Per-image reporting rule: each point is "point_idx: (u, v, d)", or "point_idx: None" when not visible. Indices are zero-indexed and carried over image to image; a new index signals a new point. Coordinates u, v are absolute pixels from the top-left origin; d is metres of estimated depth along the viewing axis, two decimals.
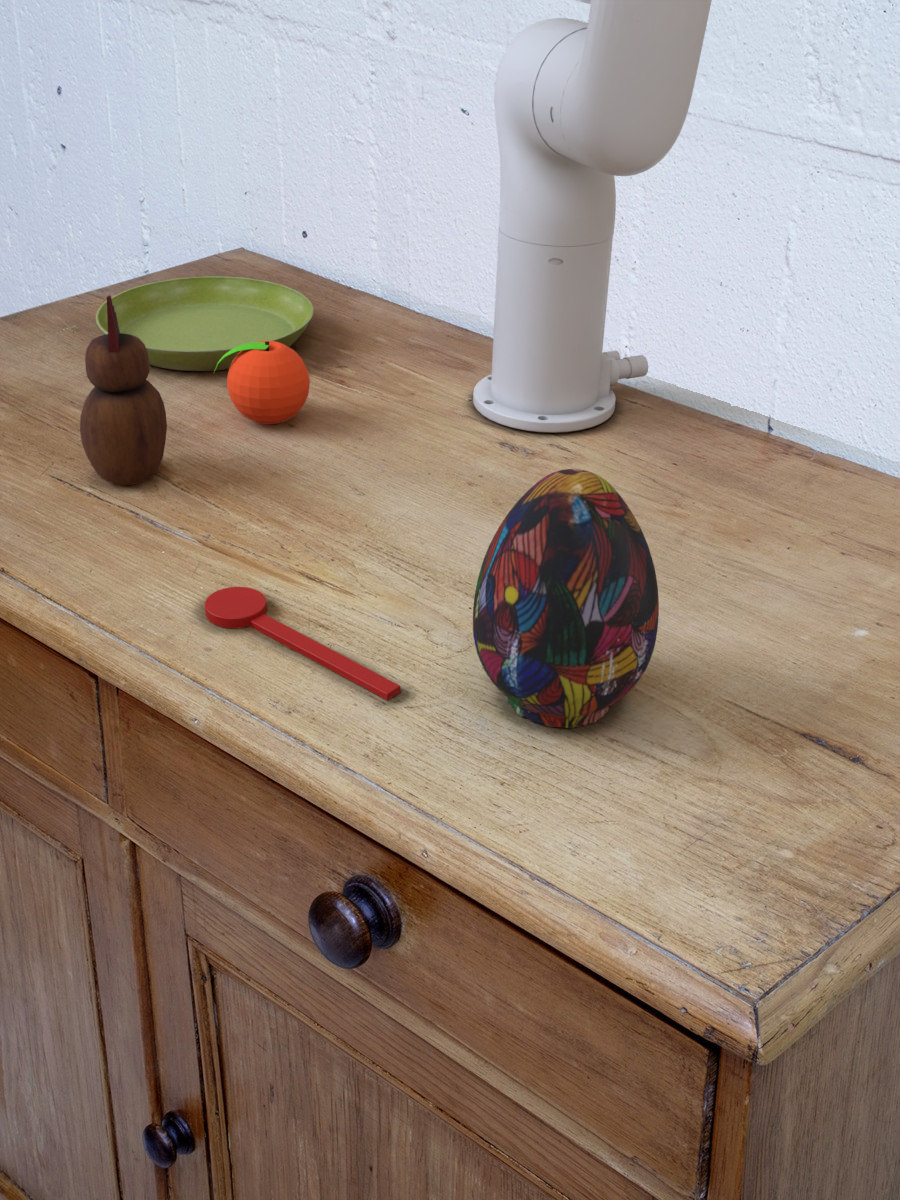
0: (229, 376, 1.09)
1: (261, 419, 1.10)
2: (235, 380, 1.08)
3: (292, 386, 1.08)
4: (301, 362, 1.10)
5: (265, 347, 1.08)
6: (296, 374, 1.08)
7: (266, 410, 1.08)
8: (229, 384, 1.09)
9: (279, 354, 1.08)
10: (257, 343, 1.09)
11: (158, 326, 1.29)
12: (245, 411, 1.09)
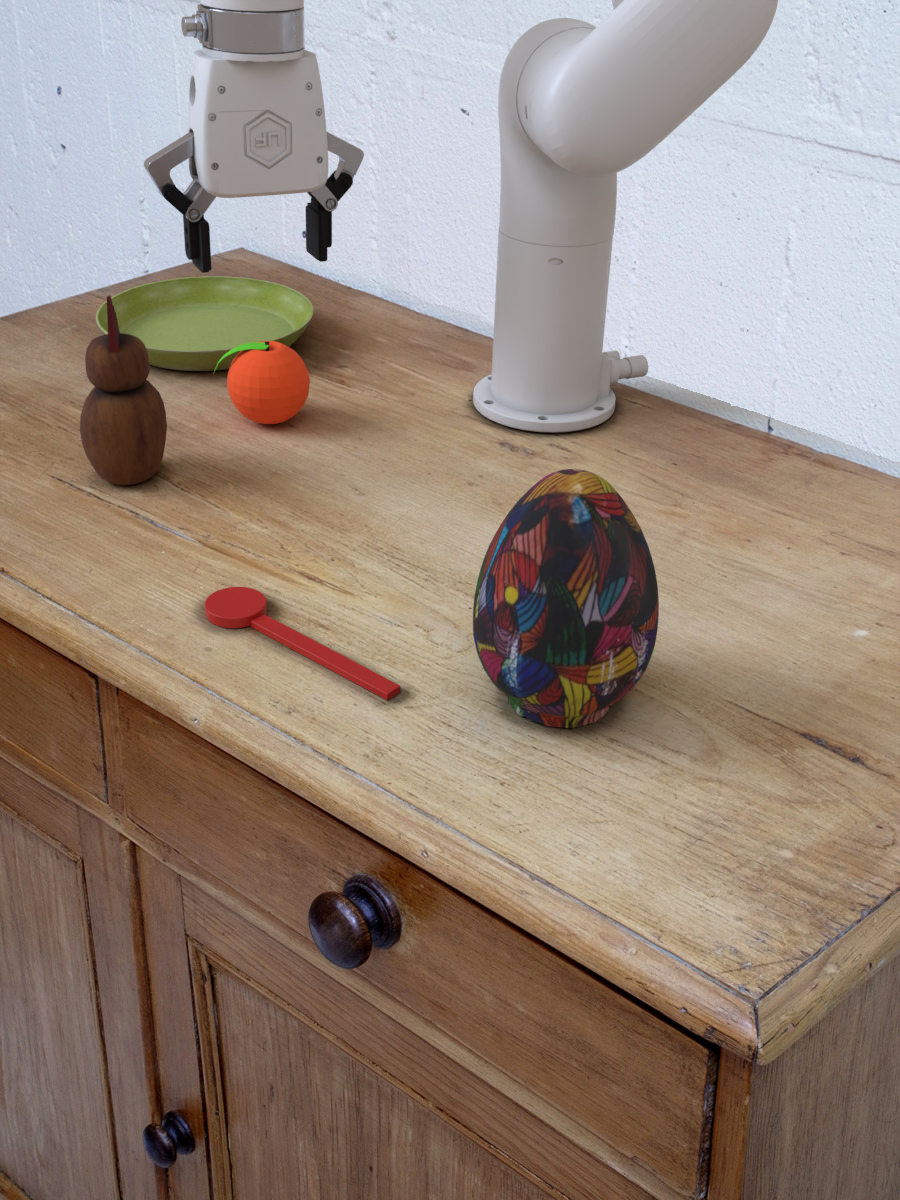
0: (229, 376, 1.09)
1: (261, 419, 1.10)
2: (235, 380, 1.08)
3: (292, 386, 1.08)
4: (301, 362, 1.10)
5: (265, 347, 1.08)
6: (296, 374, 1.08)
7: (266, 410, 1.08)
8: (229, 384, 1.09)
9: (279, 354, 1.08)
10: (257, 343, 1.09)
11: (158, 326, 1.29)
12: (245, 411, 1.09)
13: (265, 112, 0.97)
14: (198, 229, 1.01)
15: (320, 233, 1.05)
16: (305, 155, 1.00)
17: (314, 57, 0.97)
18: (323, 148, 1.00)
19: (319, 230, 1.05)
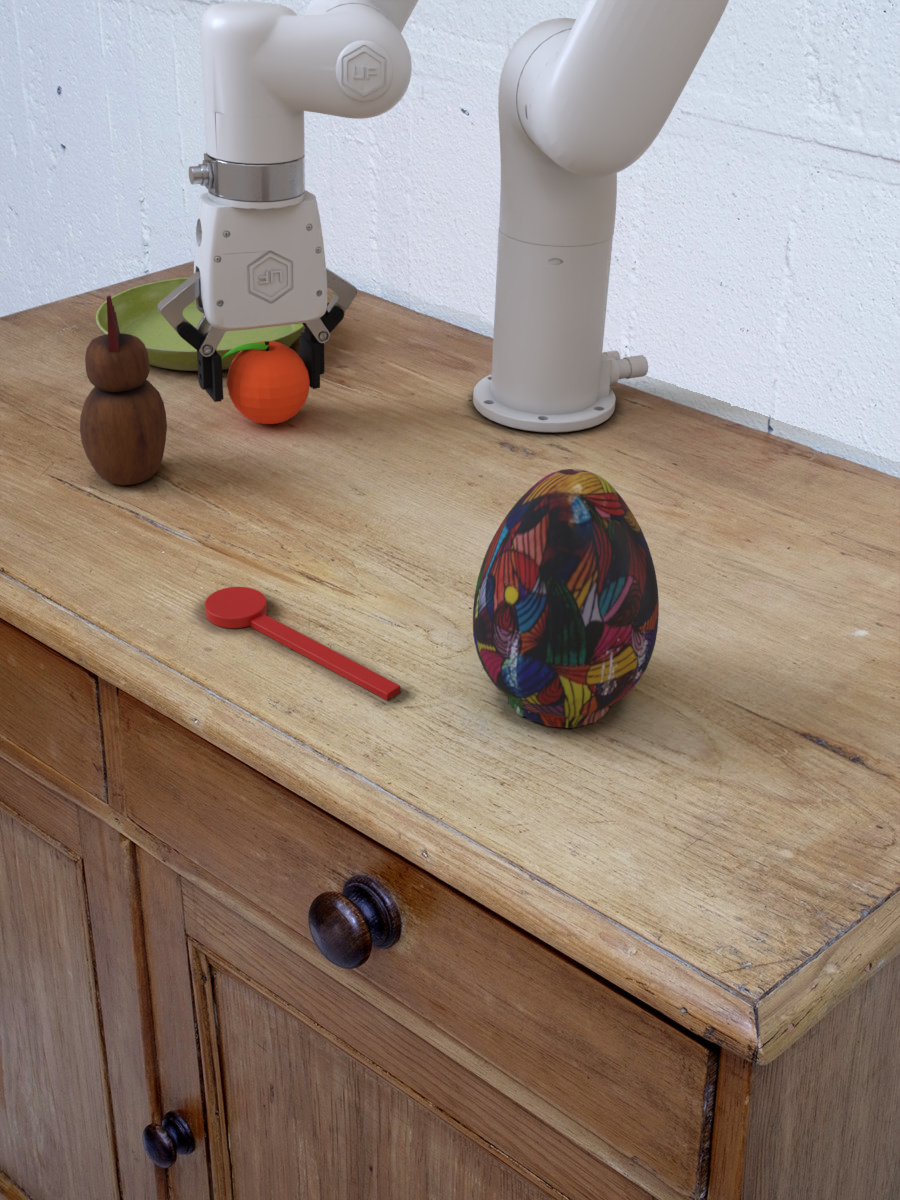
0: (229, 376, 1.09)
1: (261, 419, 1.10)
2: (235, 380, 1.08)
3: (292, 386, 1.08)
4: (301, 362, 1.10)
5: (265, 347, 1.08)
6: (296, 374, 1.08)
7: (266, 410, 1.08)
8: (229, 384, 1.09)
9: (278, 354, 1.08)
10: (257, 343, 1.09)
11: (158, 326, 1.29)
12: (245, 411, 1.09)
13: (267, 253, 1.02)
14: (211, 362, 1.07)
15: (313, 363, 1.10)
16: (305, 289, 1.05)
17: (314, 200, 1.03)
18: (322, 282, 1.06)
19: (312, 360, 1.10)
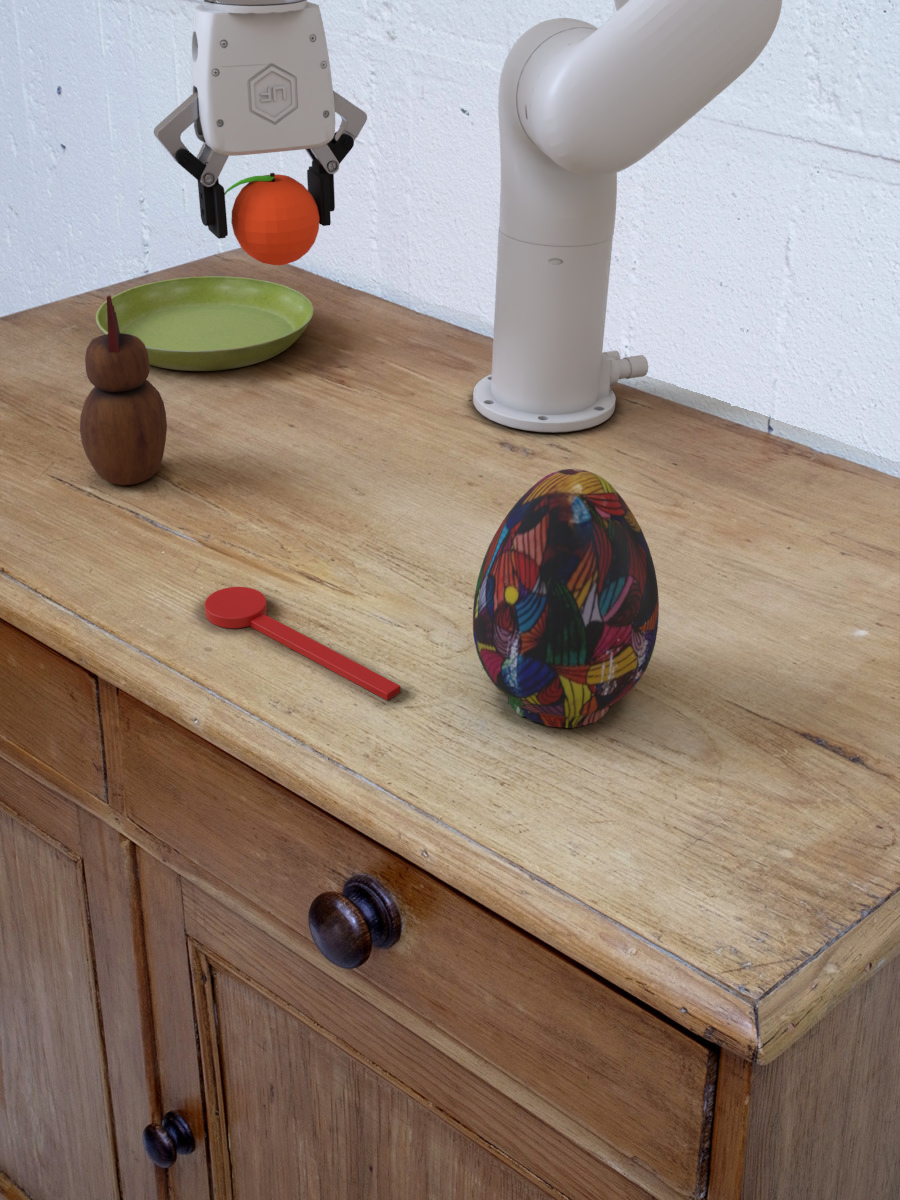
0: (233, 212, 1.02)
1: (269, 258, 1.03)
2: (240, 214, 1.01)
3: (300, 219, 1.01)
4: (309, 195, 1.03)
5: (270, 178, 1.01)
6: (305, 206, 1.01)
7: (273, 246, 1.02)
8: (233, 221, 1.02)
9: (285, 184, 1.01)
10: (262, 176, 1.02)
11: (158, 326, 1.29)
12: (252, 249, 1.02)
13: (269, 66, 0.95)
14: (213, 194, 1.00)
15: (322, 196, 1.03)
16: (311, 109, 0.98)
17: (317, 8, 0.96)
18: (329, 102, 0.99)
19: (321, 193, 1.03)
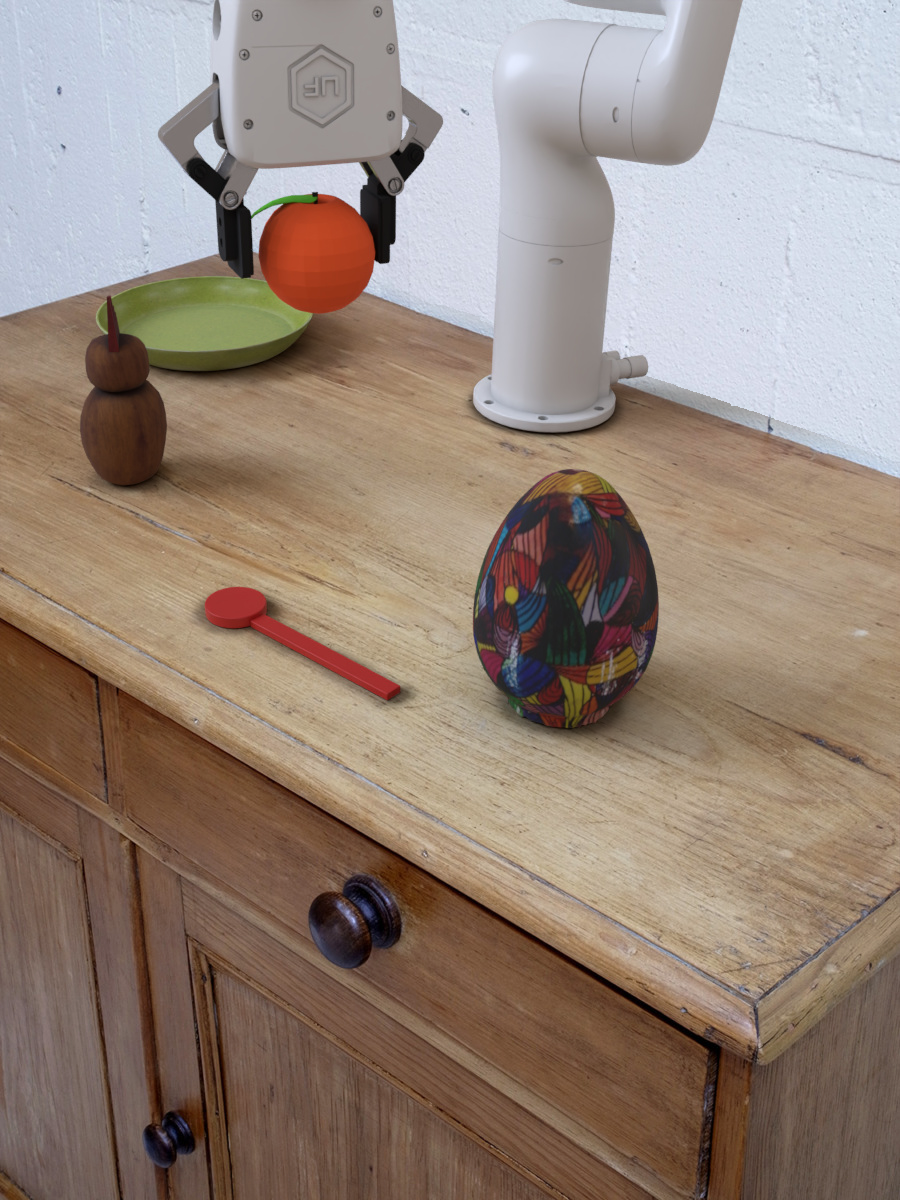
0: (261, 243, 0.77)
1: (307, 304, 0.77)
2: (271, 246, 0.76)
3: (351, 254, 0.76)
4: (363, 222, 0.77)
5: (312, 199, 0.76)
6: (357, 237, 0.76)
7: (314, 290, 0.76)
8: (262, 254, 0.77)
9: (332, 208, 0.75)
10: (301, 195, 0.77)
11: (158, 326, 1.29)
12: (285, 292, 0.77)
13: (317, 49, 0.70)
14: (236, 219, 0.74)
15: (380, 225, 0.78)
16: (372, 109, 0.73)
17: None
18: (396, 99, 0.73)
19: (379, 221, 0.77)
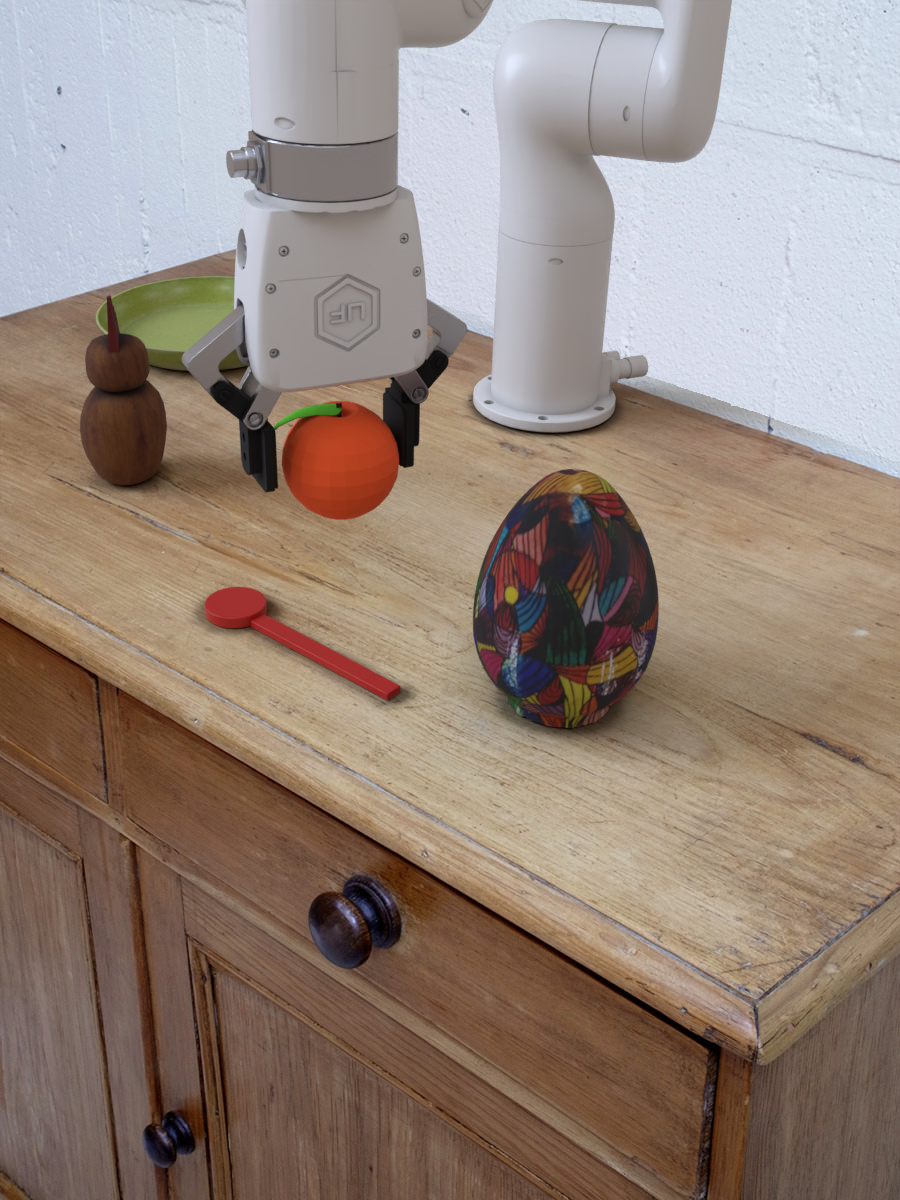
0: (285, 454, 0.76)
1: (332, 514, 0.76)
2: (295, 460, 0.75)
3: (377, 467, 0.75)
4: (388, 431, 0.76)
5: (337, 411, 0.75)
6: (382, 450, 0.75)
7: (339, 503, 0.75)
8: (285, 465, 0.76)
9: (357, 421, 0.75)
10: (324, 405, 0.76)
11: (158, 326, 1.29)
12: (309, 503, 0.76)
13: (343, 278, 0.69)
14: (260, 437, 0.73)
15: (405, 433, 0.77)
16: (397, 329, 0.72)
17: (411, 198, 0.69)
18: (422, 318, 0.72)
19: (403, 429, 0.77)
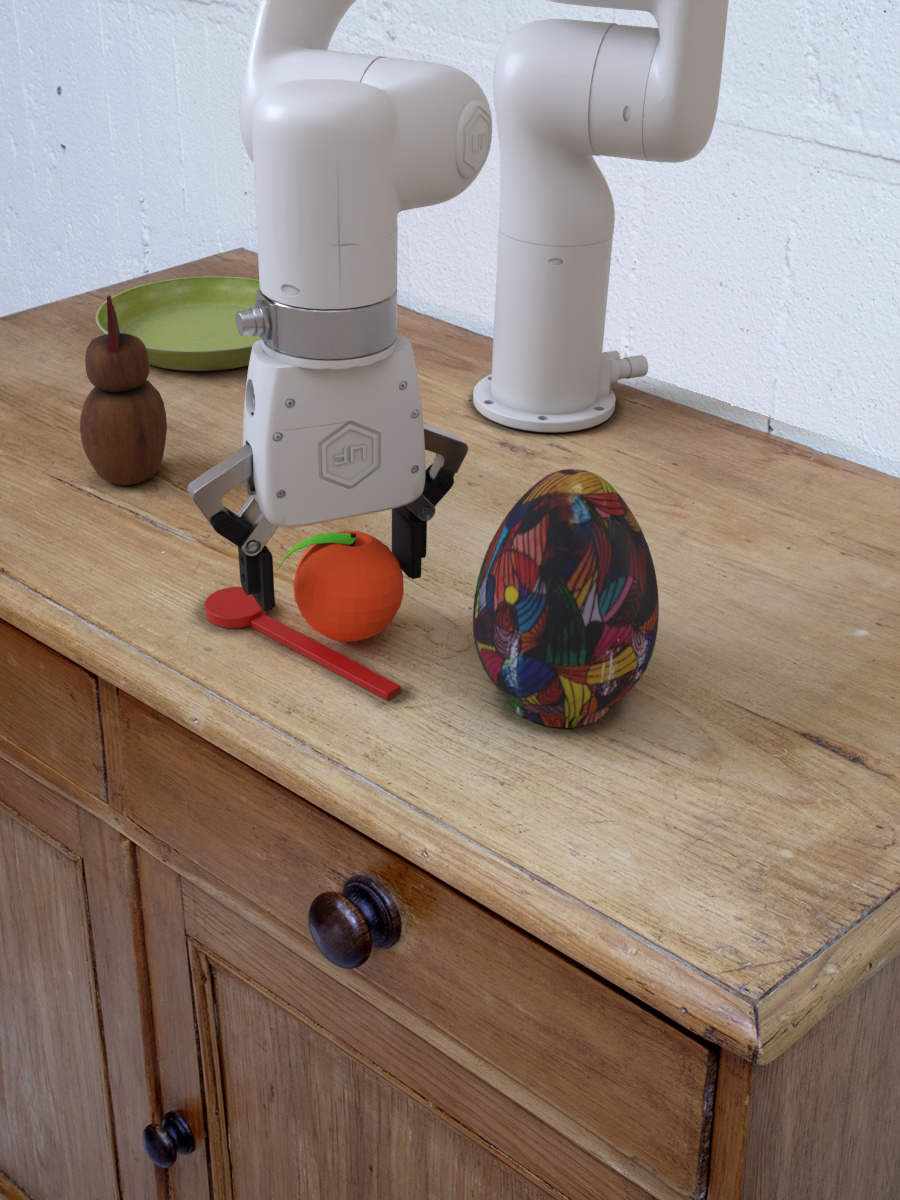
0: (298, 576, 0.81)
1: (337, 636, 0.81)
2: (308, 583, 0.80)
3: (384, 596, 0.80)
4: (396, 563, 0.81)
5: (351, 541, 0.80)
6: (391, 580, 0.80)
7: (346, 626, 0.80)
8: (298, 587, 0.81)
9: (369, 552, 0.80)
10: (339, 534, 0.81)
11: (158, 326, 1.29)
12: (317, 624, 0.81)
13: (346, 424, 0.73)
14: (258, 561, 0.77)
15: (413, 548, 0.81)
16: (397, 467, 0.76)
17: (410, 348, 0.74)
18: (420, 455, 0.77)
19: (411, 544, 0.81)
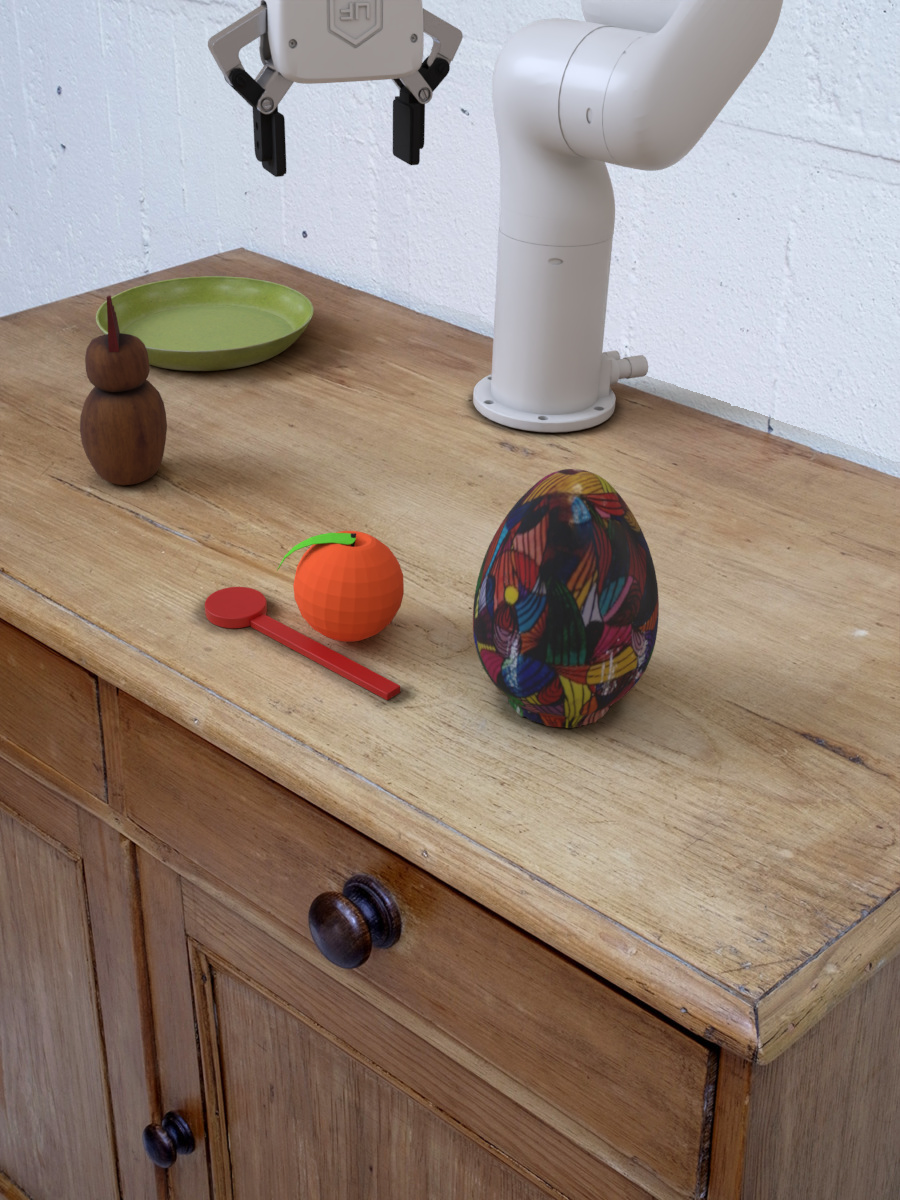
0: (299, 576, 0.81)
1: (337, 636, 0.81)
2: (308, 583, 0.80)
3: (384, 596, 0.80)
4: (396, 563, 0.81)
5: (351, 541, 0.80)
6: (391, 580, 0.80)
7: (346, 626, 0.80)
8: (298, 587, 0.81)
9: (369, 552, 0.80)
10: (339, 534, 0.81)
11: (158, 326, 1.29)
12: (317, 624, 0.80)
13: None
14: (271, 123, 0.85)
15: (412, 130, 0.89)
16: (397, 32, 0.84)
17: None
18: (418, 24, 0.85)
19: (411, 126, 0.89)
